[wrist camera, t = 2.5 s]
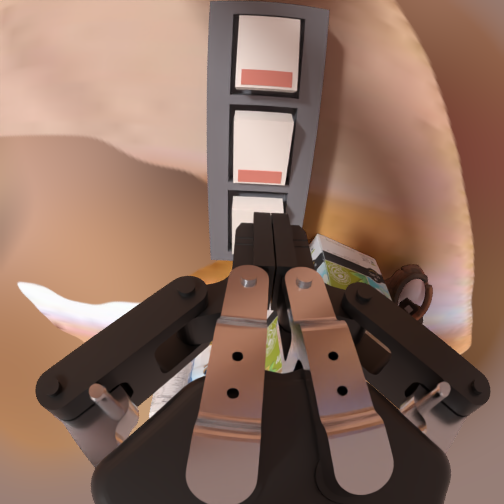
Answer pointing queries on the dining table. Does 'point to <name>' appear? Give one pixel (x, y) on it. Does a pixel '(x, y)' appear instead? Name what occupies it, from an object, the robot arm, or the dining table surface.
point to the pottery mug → (400, 281)
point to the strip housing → (230, 99)
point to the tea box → (334, 274)
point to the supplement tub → (169, 389)
